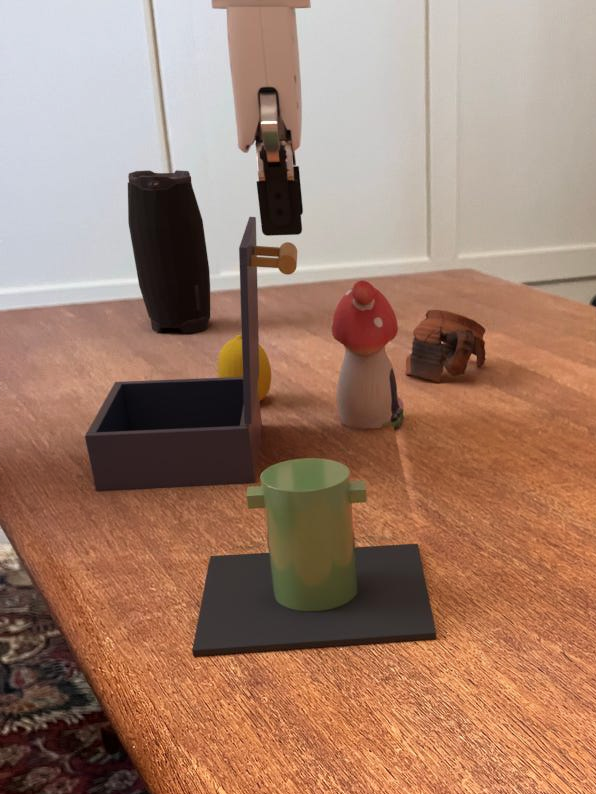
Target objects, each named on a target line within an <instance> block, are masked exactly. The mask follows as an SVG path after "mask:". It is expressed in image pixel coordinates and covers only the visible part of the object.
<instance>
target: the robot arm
mask: <svg viewBox="0 0 596 794" xmlns="http://www.w3.org/2000/svg"><path fill="white" fill-rule="evenodd" d="M311 5H312V4H311V0H211V9H214V10H215V9H217V10H219V9H220V10H226V29H227V30H226V31H227V46H228V47H227V48H228V57H229V66H230V67H229V68H230V76H231V85H232V95H233V104H234V113H235V114H234V115H235V125H236V136H237V147H238V149H239V150H240V151H241V152H243V153H244V154H245V153H247V154H248V153H249V151H250V149H251V148H252V146H253V145H255V151H256V165H257V166H256V167H257V177H258V180H256V191H257V198H258V208H259V217H260V223H261V224H260V227H261V232H262V234H263V235H264V236H268V237H270V236H271V237H272V236H273V237H274V236H299V235H301V234H302V233H303V223H302V215H303V213H304V207H303V197H302V186H301V185H302V184H301V176H300V166H299V165H297V160H296V159H297V158H296V151H297V150H298V149H299V148H300V147H301V140H302V123H303V121H302V120H303V119H302V118H303V117H302V116H303V113H302V112H303V107H302V105H303V102H302V101H303V100H302V82H301V81H302V80H301V65H300V64H301V63H300V50H299V39H298V38H299V37H298V27H297V14H296V9H311V7H312V6H311ZM254 143H255V144H254Z"/></svg>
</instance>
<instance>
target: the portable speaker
mask: <svg viewBox="0 0 596 794" xmlns="http://www.w3.org/2000/svg"><path fill="white" fill-rule="evenodd" d="M127 177H128V182H127V214H128V215H127V217H128V219H127V220H128V221H127V222H128V229H129V234H130V241H131V246H132V252H133V259H134V264H135V269H136V276H137V281H138V286H139V289H140V293H141V296H142V300H143V302H144V306H145V309H146V312H147V316H148V318H149V320H150V324H151V330H152V331H154V332H156V333H163V332H164V329H179V330H181V332H182V333H183V334H195V333H199V332H203V331H205V330H208V328H209V323H210V320H211V276H210V275H211V274H210V265H209V256H208V249H207V242H206V236H205V235H206V234H205V228H204V220H203V217H202V214H201V213H202V212H201V209H200V206H199V204H198V200H197V197H196V194H195V191H194V187H193V183H192V176H191V174H190V171H189V170H174V172H154V171H152V170H135V171H132V172H129V173H128V176H127Z"/></svg>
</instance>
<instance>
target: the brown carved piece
mask: <svg viewBox="0 0 596 794" xmlns="http://www.w3.org/2000/svg"><path fill="white" fill-rule="evenodd" d="M412 332H413V333H412V335H413V336H414V337H413V339H412V344H411V345H412V346H411V353H410V354H409V355H407V357H406V359H405V373H404V374H405V375H407V376H416V377H417V378H420V379H424V380H428V381H430V382H436V383H438V384H439V383H441V380H442V373H443V371H444V368H445V370H446V372H447V373H448V374H449V375H451V377H455V376H456V377H457V376H461V375H464V374H465V373H466V369H467V367H468V362H469V360H470V359H471V356H472V355H474V356H475V357H476V367H477V368H478V369H480V368H481V367H484V366H485V361H486V355H487V354H486V353H487V352H486V347H485V345H486V342H485V340H484V335H485V334H486V329H485V327H484V326H483V325H481V324H480V323H478V322H477V321H476V320H474V319H472V318H470V317H467V316H465V315H462V314H459V313H457V312H453V311H448V310H443V309H428V310H427V311H426V313H425V318H424V320H422V321H420V322H419V324H418V325H417V326H416V327H415V328H414V329H413V331H412Z"/></svg>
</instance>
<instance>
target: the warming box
mask: <svg viewBox="0 0 596 794" xmlns="http://www.w3.org/2000/svg"><path fill="white" fill-rule="evenodd" d="M260 402H261V401H259V393H258V384H257V391H256V397H255V404H254V411H253V417H252V424H245V423H244V393H243V377H226V378H219V377H202V378H201V377H200V378H179V379H155V380H129V381H128V380H127V381H115V382H114V383H113V385H112V386H111V389H110V390H109V392H108V394H107V396H106V398H105V399H104V401H103V403H102V404H101V406H100V408H99V410H98V411H97V414H96V415H95V416H94V419H93V420H92V422H91V424H90V425H89V428H88V430H87V431H86V433H85V435H84V440H85V444H86V450H87V453H88V459H89V463H90V464H89V465H90V468H91V473H92V477H93V478H92V479H93V482H94V488H95V491H96V492H113V491H114V492H115V491H132V490H133V491H134V490H135V491H136V490H153V489H169V488H170V489H172V488H173V489H175V488H191V487H208V486H209V487H211V486H227V485H228V486H230V485H248V484H249V485H251V484H256V478H257V471H258V470H257V469H258V462H259V454H260V453H259V452H260V446H261V437H262V429H263V420H262V419H263V418H262V411H261V404H260Z"/></svg>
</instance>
